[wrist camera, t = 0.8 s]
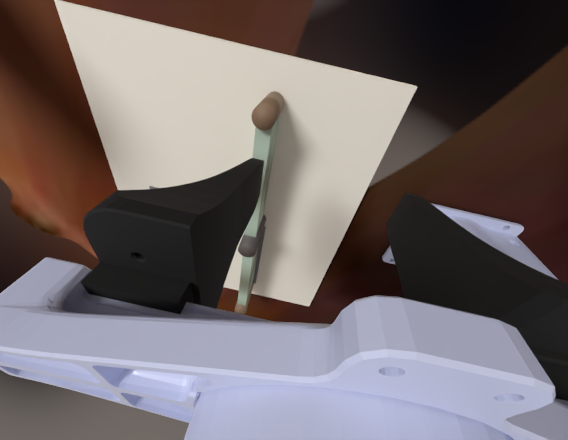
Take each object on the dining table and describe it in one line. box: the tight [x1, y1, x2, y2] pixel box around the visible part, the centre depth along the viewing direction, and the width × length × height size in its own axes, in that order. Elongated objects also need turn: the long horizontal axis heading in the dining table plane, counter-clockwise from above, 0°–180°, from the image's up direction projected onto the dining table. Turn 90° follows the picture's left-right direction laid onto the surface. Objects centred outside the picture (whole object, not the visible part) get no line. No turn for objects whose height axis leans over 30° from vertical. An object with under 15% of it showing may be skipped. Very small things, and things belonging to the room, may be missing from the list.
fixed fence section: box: [234, 215, 266, 315], centre depth 25 cm, size 13×2×5 cm, turn 169°
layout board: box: [54, 0, 417, 306], centre depth 24 cm, size 24×28×1 cm
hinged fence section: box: [245, 91, 285, 237], centre depth 18 cm, size 11×1×4 cm, turn 169°
